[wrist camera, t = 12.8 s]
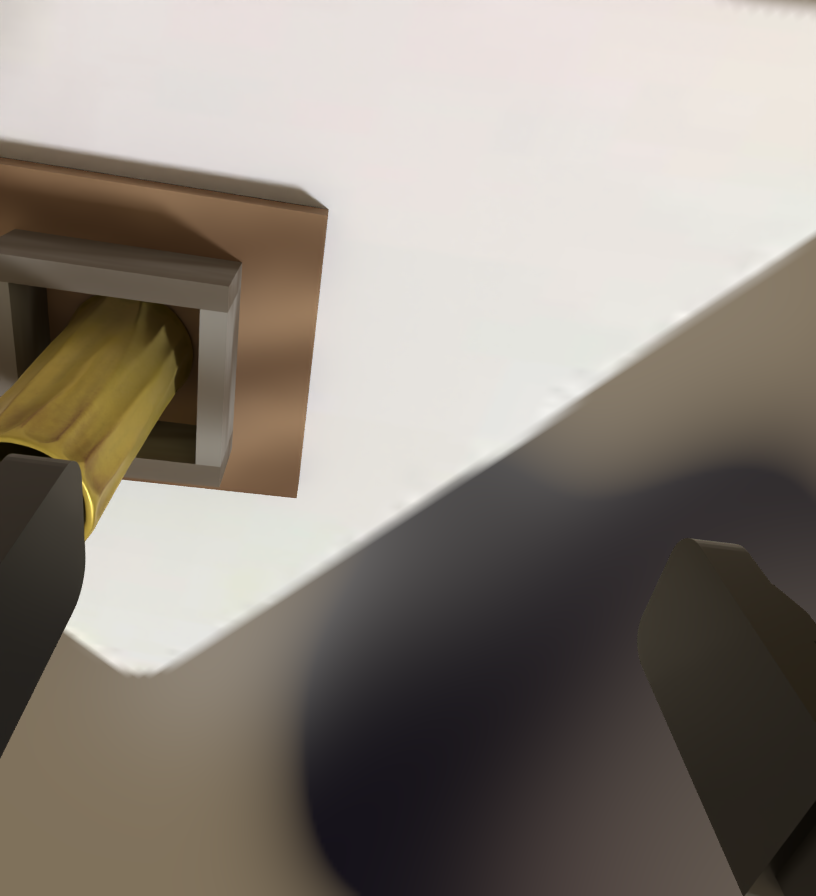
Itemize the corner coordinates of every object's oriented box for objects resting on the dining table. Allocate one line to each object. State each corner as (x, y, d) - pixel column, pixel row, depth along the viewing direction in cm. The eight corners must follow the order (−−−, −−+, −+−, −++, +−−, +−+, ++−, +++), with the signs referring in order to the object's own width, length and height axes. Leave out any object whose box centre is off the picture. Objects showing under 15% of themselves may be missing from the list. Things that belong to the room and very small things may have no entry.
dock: (-65, 146, 33) (-138, 164, 28) (328, 209, 35) (323, 235, 30) (-23, 449, 40) (-75, 503, 36) (298, 484, 43) (290, 539, 38)
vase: (43, 338, 36) (-125, 493, 24) (128, 262, 34) (-4, 386, 22) (136, 422, 39) (28, 602, 26) (219, 355, 37) (146, 513, 25)
